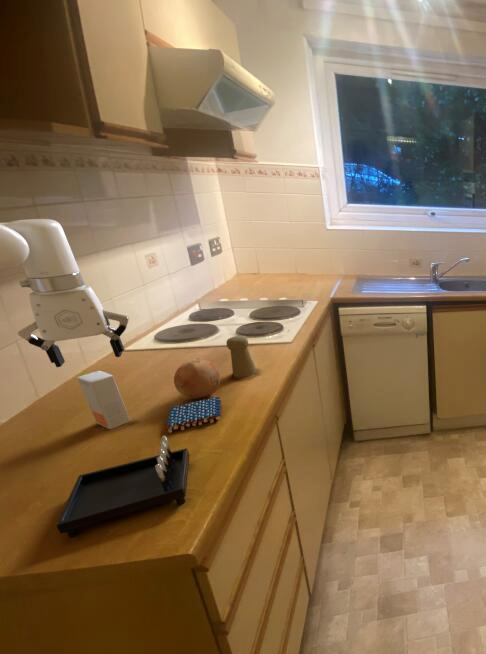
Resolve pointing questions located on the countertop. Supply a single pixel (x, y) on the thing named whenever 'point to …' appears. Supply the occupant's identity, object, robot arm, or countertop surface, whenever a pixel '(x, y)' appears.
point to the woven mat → (194, 413)
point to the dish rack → (126, 489)
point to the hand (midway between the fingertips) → (90, 359)
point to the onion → (197, 378)
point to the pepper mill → (240, 357)
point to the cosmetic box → (104, 399)
